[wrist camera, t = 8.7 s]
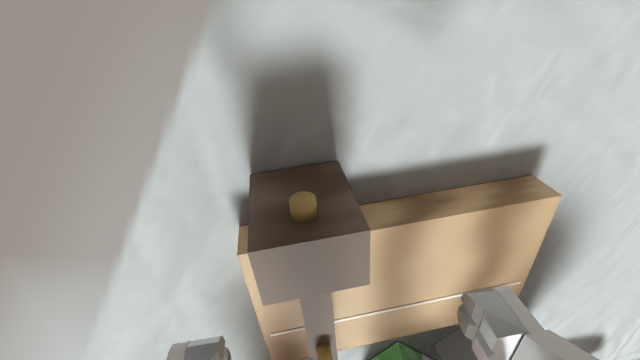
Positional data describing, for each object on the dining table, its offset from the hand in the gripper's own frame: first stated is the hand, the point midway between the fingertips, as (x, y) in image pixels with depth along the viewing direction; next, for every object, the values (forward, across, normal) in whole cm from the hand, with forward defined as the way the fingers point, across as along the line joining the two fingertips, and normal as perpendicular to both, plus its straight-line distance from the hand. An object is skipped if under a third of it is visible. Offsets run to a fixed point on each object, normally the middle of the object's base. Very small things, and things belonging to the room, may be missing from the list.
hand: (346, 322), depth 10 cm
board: (+9, -5, +9) cm, 14 cm away
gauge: (+9, +1, +6) cm, 11 cm away
